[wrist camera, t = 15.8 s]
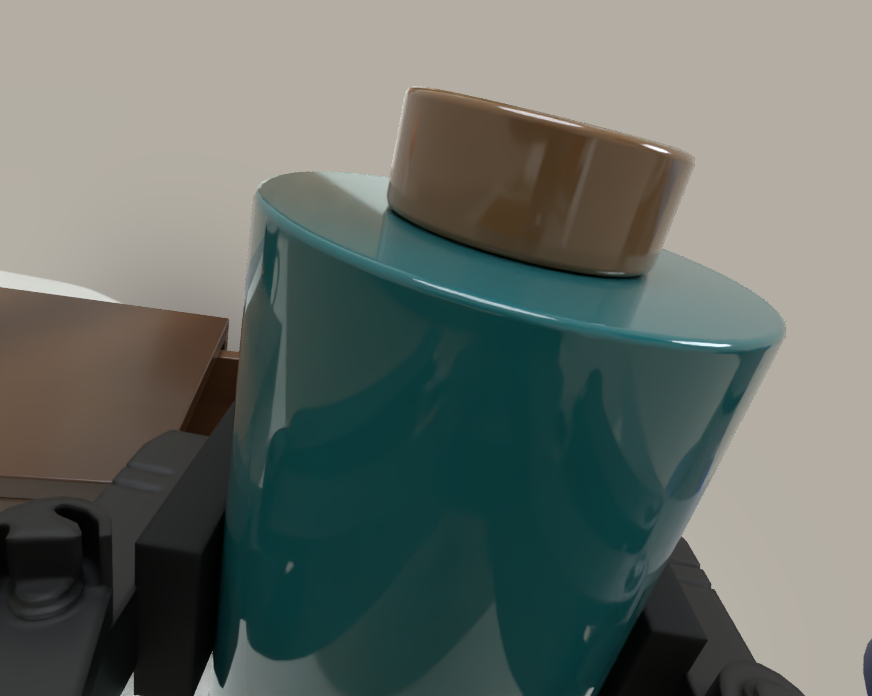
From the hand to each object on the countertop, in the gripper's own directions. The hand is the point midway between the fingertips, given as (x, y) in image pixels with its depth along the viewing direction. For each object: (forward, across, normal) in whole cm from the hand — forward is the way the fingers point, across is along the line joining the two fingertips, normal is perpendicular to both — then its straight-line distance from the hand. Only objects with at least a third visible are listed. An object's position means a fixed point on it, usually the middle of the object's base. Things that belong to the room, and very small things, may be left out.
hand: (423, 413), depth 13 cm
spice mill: (-5, 0, -13) cm, 14 cm away
